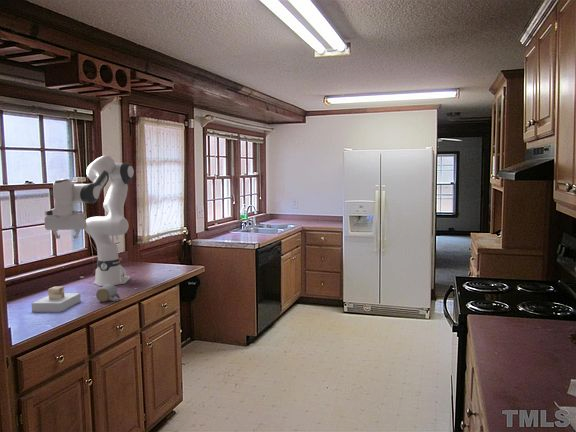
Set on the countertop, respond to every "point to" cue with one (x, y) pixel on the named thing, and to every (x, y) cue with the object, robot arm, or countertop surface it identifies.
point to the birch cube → (56, 292)
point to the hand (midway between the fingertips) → (66, 238)
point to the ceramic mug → (107, 293)
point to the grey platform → (55, 303)
